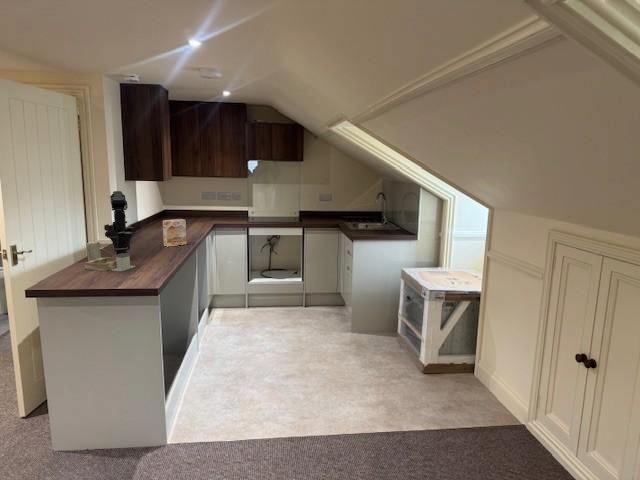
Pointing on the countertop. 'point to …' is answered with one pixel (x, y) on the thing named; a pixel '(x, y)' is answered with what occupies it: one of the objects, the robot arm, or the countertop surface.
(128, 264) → the sage box
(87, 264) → the wooden frame
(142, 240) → the countertop surface
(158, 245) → the countertop surface
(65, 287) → the countertop surface
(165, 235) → the coffeecake box
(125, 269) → the grey mat
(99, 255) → the skincare box
